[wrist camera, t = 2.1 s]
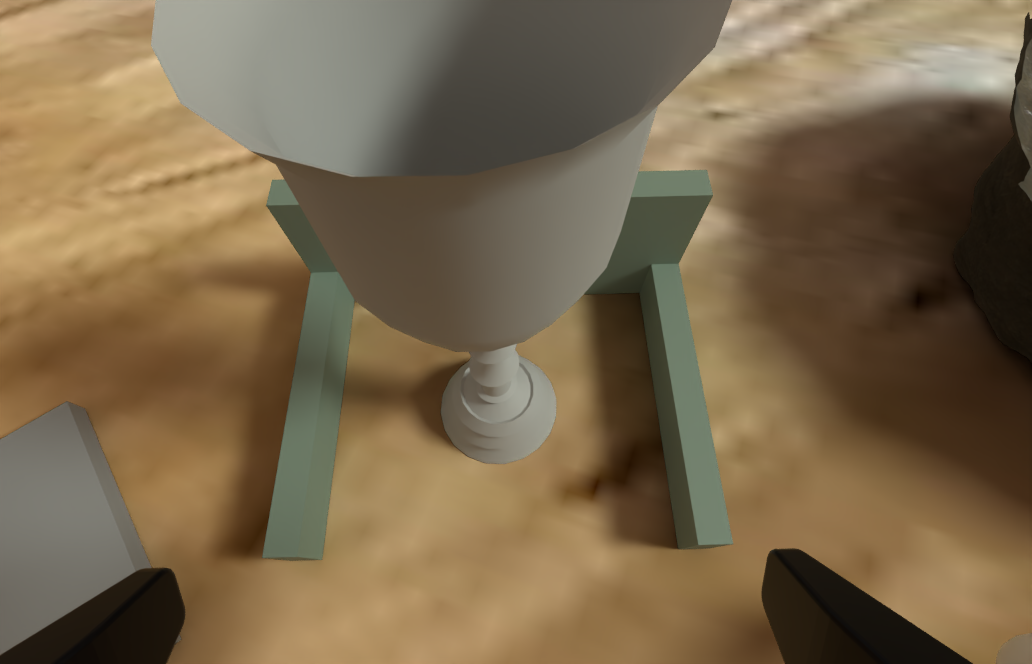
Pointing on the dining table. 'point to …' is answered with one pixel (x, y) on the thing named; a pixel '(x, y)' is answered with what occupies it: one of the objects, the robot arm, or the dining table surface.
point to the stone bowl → (1005, 224)
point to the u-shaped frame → (631, 269)
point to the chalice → (449, 157)
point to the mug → (1016, 650)
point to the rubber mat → (58, 523)
